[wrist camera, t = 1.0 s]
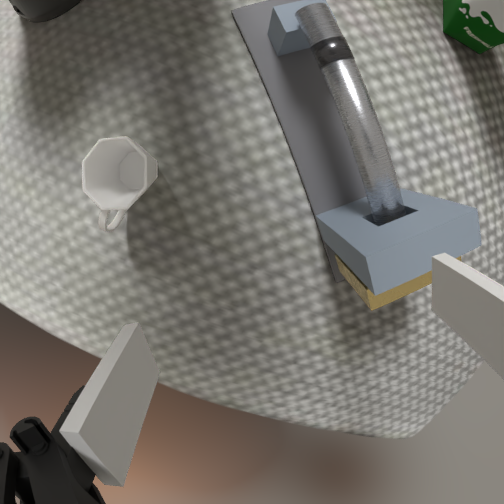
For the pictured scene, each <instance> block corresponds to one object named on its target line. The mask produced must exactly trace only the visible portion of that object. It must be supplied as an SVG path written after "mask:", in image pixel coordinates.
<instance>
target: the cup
mask: <svg viewBox="0 0 504 504" xmlns="http://www.w3.org/2000/svg"><path fill="white" fill-rule="evenodd" d="M157 177H158V162H157V161H156V160H155V159H154V158H153V157H152V156H151V155H150V154H149V153H148V152H147V151H146V150H145V149H144V148H143V147H142V146H141V145H139V144H138V143H136V142H134V141H133V140H132V139H130V138H129V137H127V136H123V137H113V138H103V139H99V140H98V142H97V143H96V144H95V145H94V147H93V148H92V149H91V150H90V152H89V153H88V154H87V156H86V157H85V158H84V160H83V161H82V183H83V191H84V192H85V193H86V194H87V196H88V197H89V198H90V199H91V200H92V201H93V202H94V203H95V204H96V205H97V206H98V207H99V208H100V209H101V212H100V216H99V222H98V225H99V228H100V229H101V230H103V231H105V232H112V231H114V230H115V229H116V228H117V227H118V225H119V223H120V222H121V220H122V219H123V217H124V215H125V213H126V211H127V210H128V209H129V208H130V207H131V206H132V205H133V204H134V203H135V202H136V201H137V200H138V199H139V198H140V197H141V196H142V195H143V193H144V192H145V191H146V190H147V189H148V188H149V187H150V186H151V185H152V183H153V182H154V181H155V179H156V178H157ZM110 210H119V211H118V213H117V215H116V216H115V218H114V220H113V221H112V222H111V223H110V224H109V226H107V225H106V223H107V219H108V216H109V213H110Z"/></svg>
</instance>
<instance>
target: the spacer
mask: <svg viewBox="0 0 504 504" xmlns="http://www.w3.org/2000/svg"><path fill="white" fill-rule="evenodd" d="M335 258H336V261H337V264H338V268H339V271H340V272H341V274H342V275H343V276H344V277H345V279H346V280H347V281H348V282H349V283H350V285H351V286H352V287H353V288H354V290H355V291H356V292H357V293H358V295H359V296H360V297H361V298H362V300H363V301H364V302H365V303H366V305H367V306H368V307H369V308H370V310H371V311H372V310H375V309H377V308H379V307H381V306H384V305H386V304H388V303H390V302H393V301H395V300H397V299H399V298H402V297H404V296H406V295H408V294H410V293H412V292H414V291H417V290H419V289H421V288H423V287H425V286H427V285H429V284H431V283H432V270H431V271H429V272H427V273H425V274H423V275H421V276H418V277H416V278H414V279H412V280H410V281H408V282H405V283H403V284H401V285H399V286H397V287H394V288H392V289H390V290H387V291H385V292H383V293H381V294H378V295H376V296H375V295H374V294H373V293H372V292H371V291H370V290H369V289H368V287H367V286H366V285H365V284H364V283H363V282H362V281H361V280H360V279H359V278H358V277H357V275H356V274H355V273H354V272H353V271H352V270H351V269H350V268H349V267H348V266H347V265H346V264H345V263H344V261H343V260H342V259H341V258H340V257H339V256H338V255H337V254H335ZM456 259H457V260H459V261H461V256H459V257H458V258H456Z"/></svg>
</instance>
